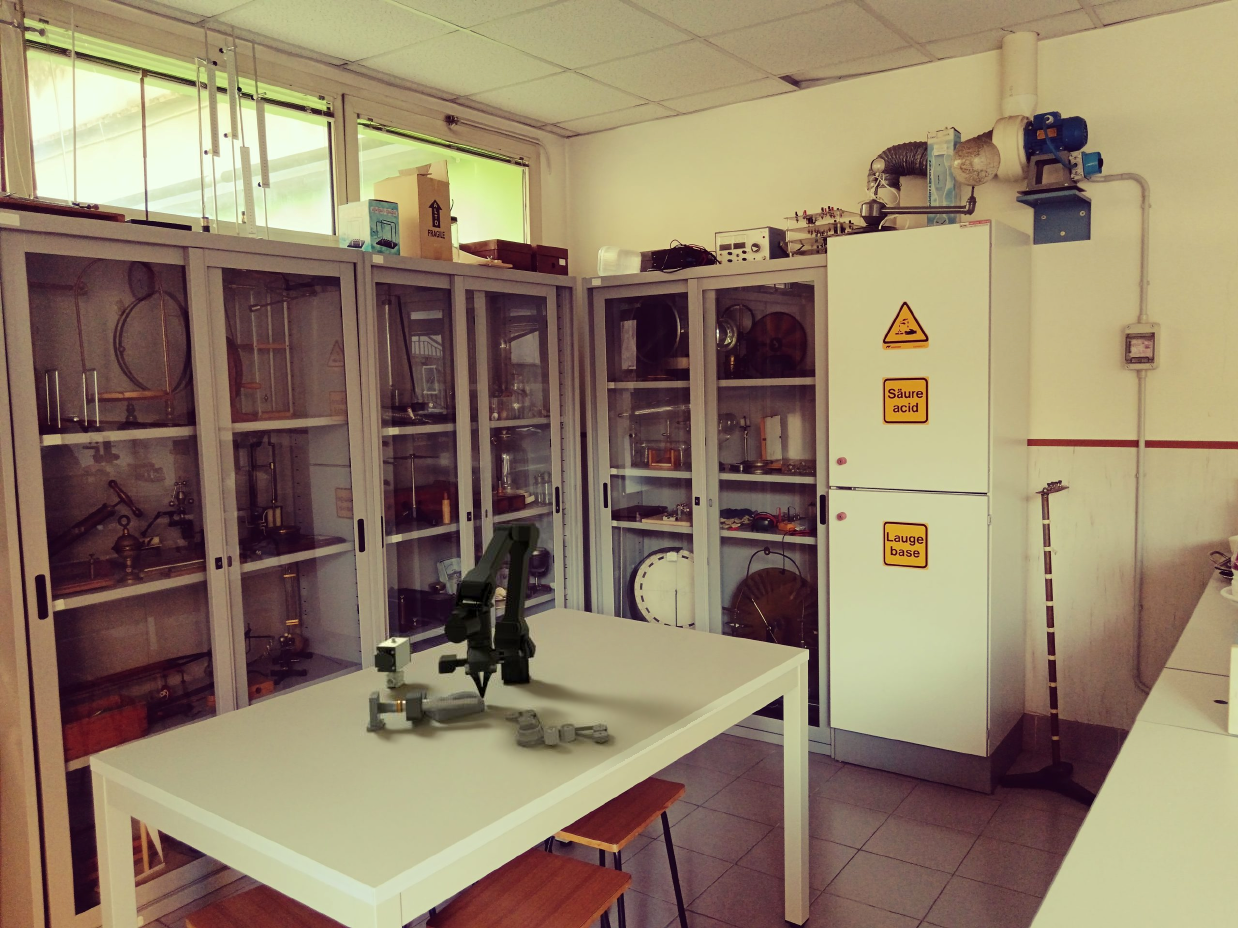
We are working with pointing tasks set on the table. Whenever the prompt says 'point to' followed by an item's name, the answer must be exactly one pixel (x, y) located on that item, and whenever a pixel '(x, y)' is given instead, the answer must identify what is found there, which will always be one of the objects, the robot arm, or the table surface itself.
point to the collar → (414, 704)
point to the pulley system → (550, 731)
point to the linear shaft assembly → (425, 705)
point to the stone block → (454, 713)
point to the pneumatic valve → (393, 659)
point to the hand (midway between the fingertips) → (482, 697)
